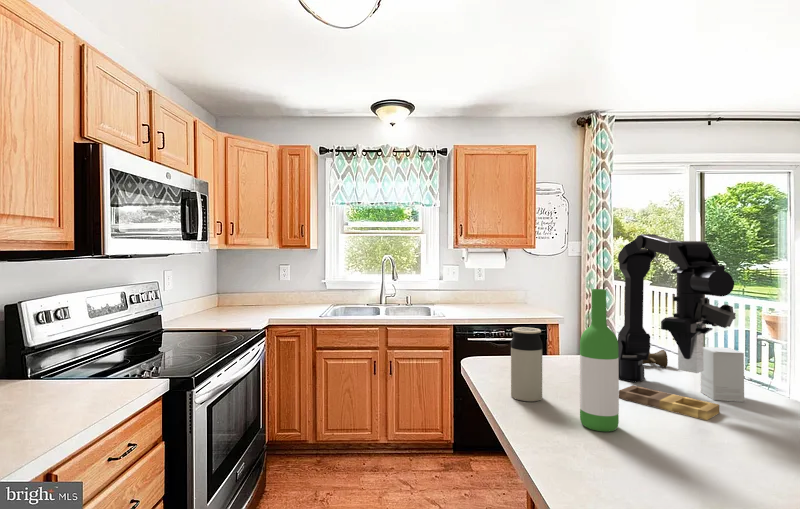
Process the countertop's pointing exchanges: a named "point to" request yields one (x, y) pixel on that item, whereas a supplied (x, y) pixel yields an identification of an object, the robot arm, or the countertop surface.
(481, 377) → the countertop surface
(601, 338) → the wine bottle
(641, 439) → the countertop surface
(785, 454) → the countertop surface
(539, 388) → the travel mug
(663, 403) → the wooden slotted board
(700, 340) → the peg
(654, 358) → the kendama
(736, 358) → the supplement box
